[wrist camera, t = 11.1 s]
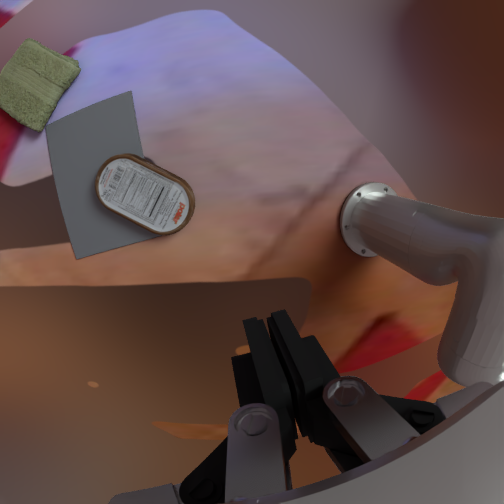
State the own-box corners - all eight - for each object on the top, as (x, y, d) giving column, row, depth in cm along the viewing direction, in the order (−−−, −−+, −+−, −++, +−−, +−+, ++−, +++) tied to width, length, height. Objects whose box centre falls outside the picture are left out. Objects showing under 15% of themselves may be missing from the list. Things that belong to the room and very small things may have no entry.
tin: (114, 144, 34) (92, 196, 36) (106, 144, 31) (83, 201, 33) (205, 189, 38) (179, 240, 40) (205, 193, 35) (176, 248, 37)
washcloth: (30, 38, 24) (22, 32, 21) (88, 66, 29) (80, 60, 26) (-9, 101, 26) (-19, 98, 23) (42, 139, 31) (31, 138, 28)
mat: (131, 91, 32) (131, 90, 32) (162, 235, 39) (162, 235, 39) (46, 126, 31) (45, 126, 31) (77, 258, 38) (76, 259, 38)
